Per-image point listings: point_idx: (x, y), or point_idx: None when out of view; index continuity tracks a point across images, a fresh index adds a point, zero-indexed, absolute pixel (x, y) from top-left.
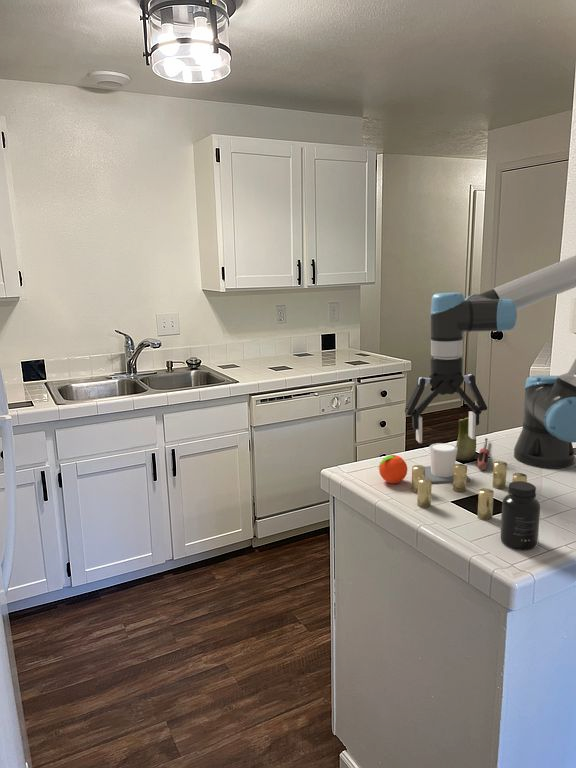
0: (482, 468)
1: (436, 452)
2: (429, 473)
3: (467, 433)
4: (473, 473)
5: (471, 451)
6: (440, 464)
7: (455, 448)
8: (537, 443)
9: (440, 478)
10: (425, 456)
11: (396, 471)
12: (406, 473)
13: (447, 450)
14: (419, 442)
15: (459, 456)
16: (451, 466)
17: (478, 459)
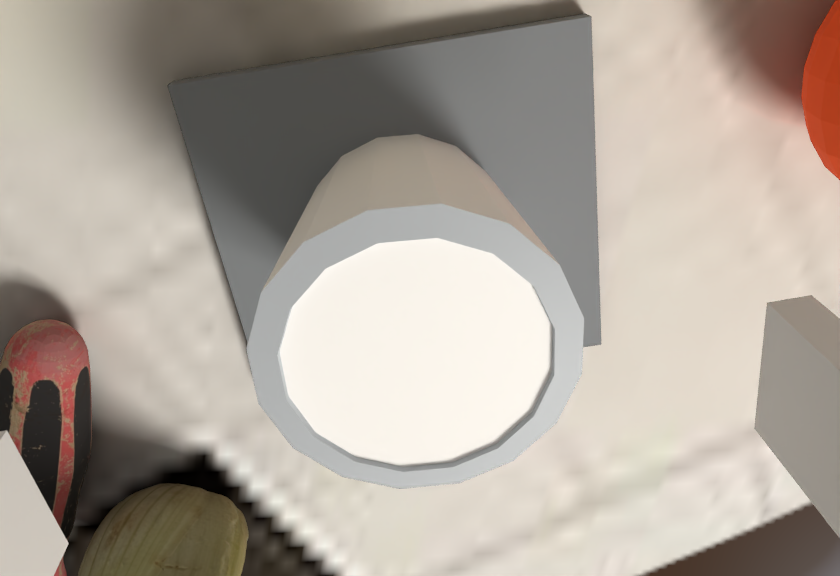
0: (47, 319)
1: (528, 235)
2: (521, 214)
3: None
4: (135, 268)
5: (114, 541)
6: (459, 171)
7: (274, 324)
8: None
9: (448, 99)
10: (461, 553)
11: None
12: (838, 17)
13: (388, 258)
14: (811, 300)
15: (223, 507)
16: (339, 176)
17: (65, 431)
